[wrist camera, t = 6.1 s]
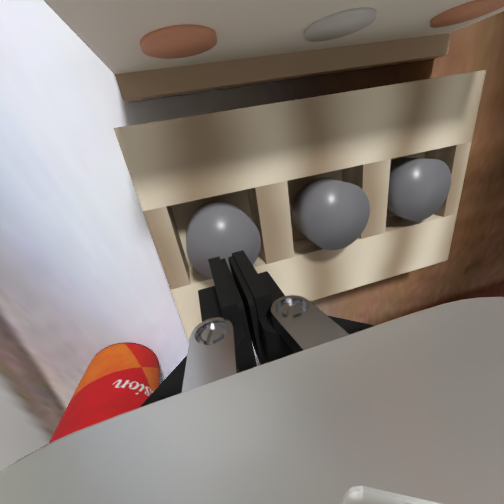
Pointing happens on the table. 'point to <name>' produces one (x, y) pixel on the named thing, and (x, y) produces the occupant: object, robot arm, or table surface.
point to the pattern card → (259, 38)
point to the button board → (304, 180)
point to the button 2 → (417, 187)
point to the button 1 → (220, 235)
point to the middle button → (331, 213)
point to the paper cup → (111, 387)
